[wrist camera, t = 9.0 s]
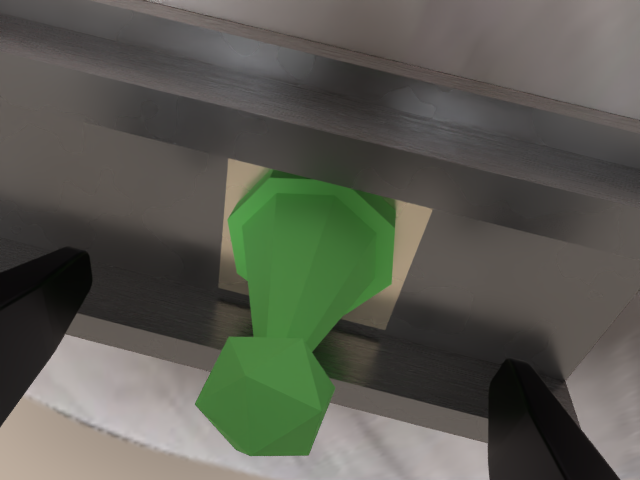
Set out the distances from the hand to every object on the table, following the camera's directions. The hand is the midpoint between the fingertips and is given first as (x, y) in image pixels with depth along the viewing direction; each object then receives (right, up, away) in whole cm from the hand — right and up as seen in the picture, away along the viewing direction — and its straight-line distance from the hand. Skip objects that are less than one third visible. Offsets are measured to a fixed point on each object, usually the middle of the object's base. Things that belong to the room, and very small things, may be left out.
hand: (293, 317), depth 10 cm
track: (-3, +3, +3) cm, 6 cm away
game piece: (0, +2, +2) cm, 3 cm away
